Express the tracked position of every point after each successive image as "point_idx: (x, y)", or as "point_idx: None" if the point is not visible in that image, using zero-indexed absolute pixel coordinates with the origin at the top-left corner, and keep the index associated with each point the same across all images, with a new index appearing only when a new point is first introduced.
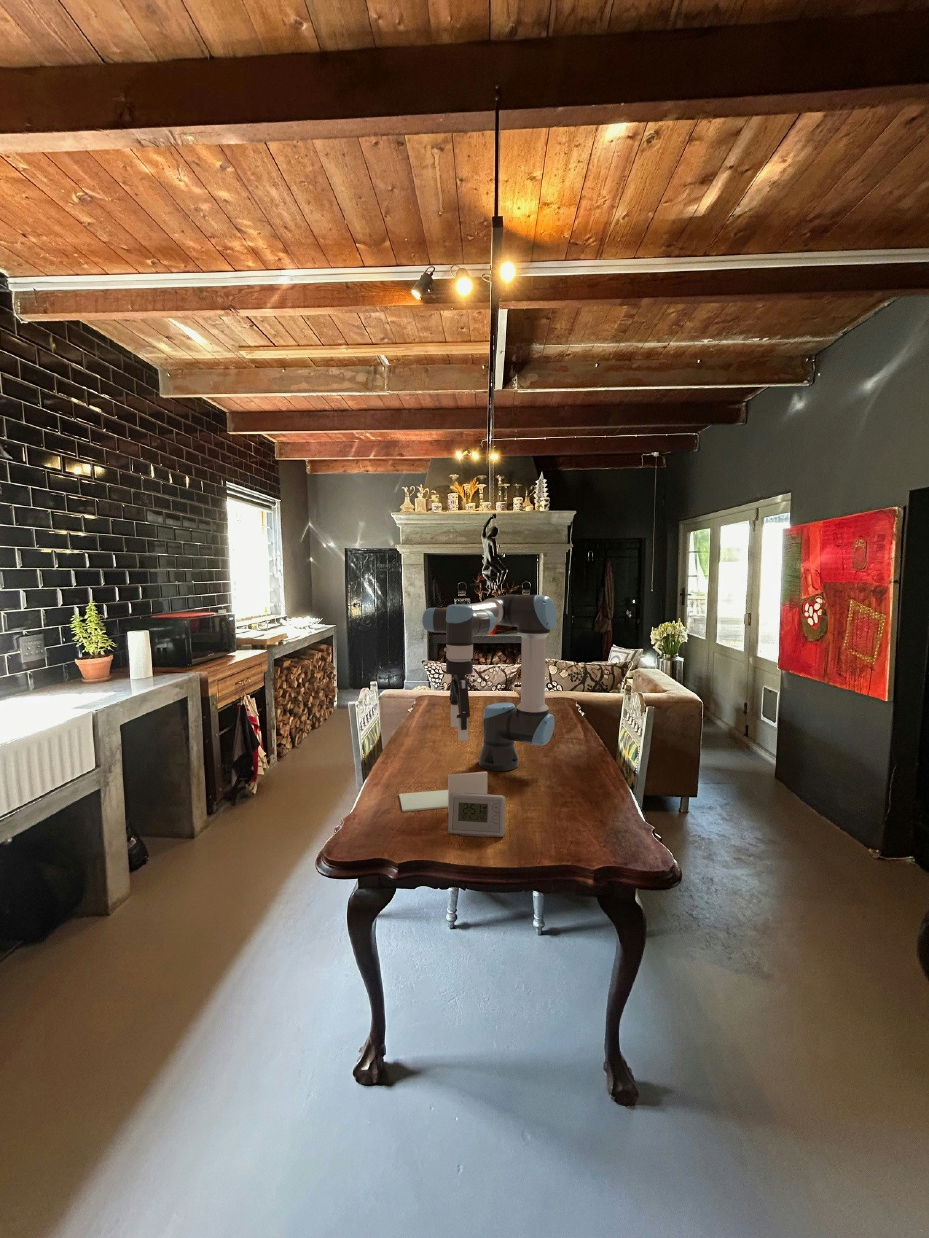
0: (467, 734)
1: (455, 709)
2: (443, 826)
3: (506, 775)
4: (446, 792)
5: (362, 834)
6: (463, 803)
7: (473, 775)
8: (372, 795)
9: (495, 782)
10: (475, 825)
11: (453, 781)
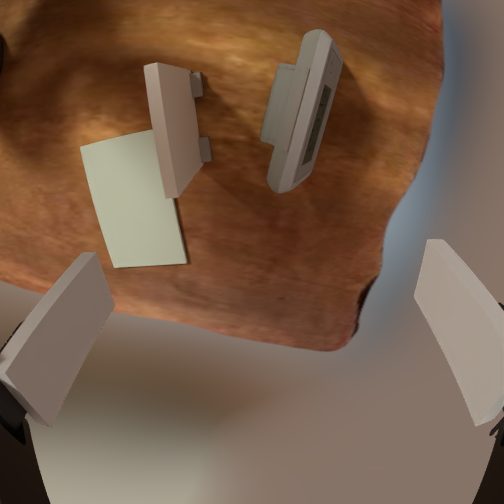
0: (461, 267)
1: (46, 374)
2: (263, 180)
3: (18, 41)
4: (97, 169)
5: (275, 321)
6: (305, 152)
7: (165, 111)
8: (122, 308)
9: (45, 58)
10: (326, 117)
11: (180, 175)
